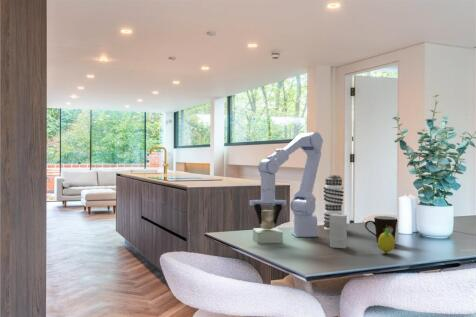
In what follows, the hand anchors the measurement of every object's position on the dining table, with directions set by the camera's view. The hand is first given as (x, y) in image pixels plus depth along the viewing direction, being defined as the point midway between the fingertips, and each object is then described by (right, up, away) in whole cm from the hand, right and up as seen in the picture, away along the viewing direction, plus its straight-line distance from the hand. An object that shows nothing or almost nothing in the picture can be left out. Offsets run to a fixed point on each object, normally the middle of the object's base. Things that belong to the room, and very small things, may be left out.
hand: (267, 223), depth 167 cm
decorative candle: (+33, -7, +28) cm, 44 cm away
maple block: (0, -2, 0) cm, 2 cm away
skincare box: (+26, -7, -11) cm, 29 cm away
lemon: (+40, -8, -21) cm, 46 cm away
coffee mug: (+45, -7, -2) cm, 45 cm away
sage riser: (0, -7, 0) cm, 7 cm away
